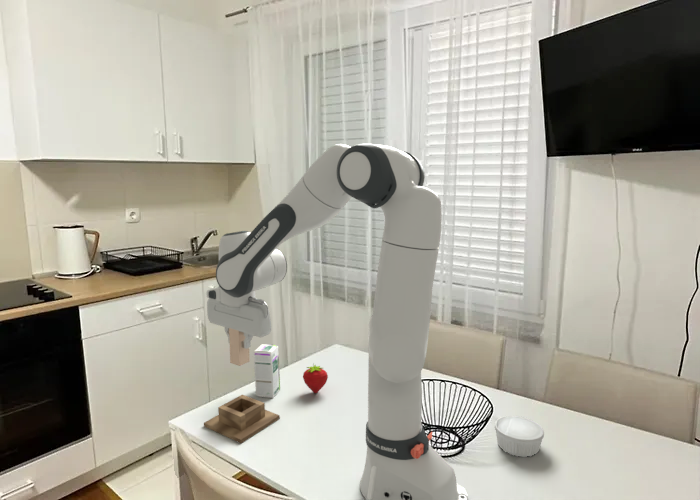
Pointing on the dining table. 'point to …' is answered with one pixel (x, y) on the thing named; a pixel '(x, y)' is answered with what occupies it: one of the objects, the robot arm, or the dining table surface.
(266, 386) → the syrup box
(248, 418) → the wooden peg socket base
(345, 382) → the dining table surface
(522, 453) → the ramekin
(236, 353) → the peach rectangular block
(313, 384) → the strawberry
